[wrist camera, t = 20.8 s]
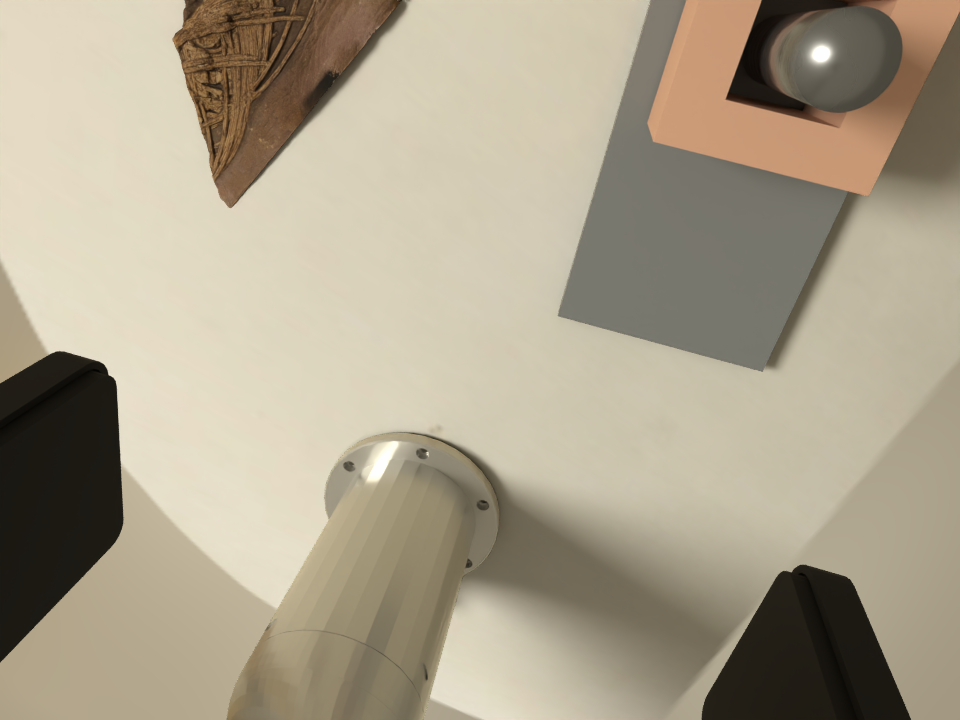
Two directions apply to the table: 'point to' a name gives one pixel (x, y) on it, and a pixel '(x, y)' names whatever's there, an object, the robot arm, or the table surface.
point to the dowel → (826, 56)
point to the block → (778, 129)
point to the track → (695, 224)
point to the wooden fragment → (265, 72)
